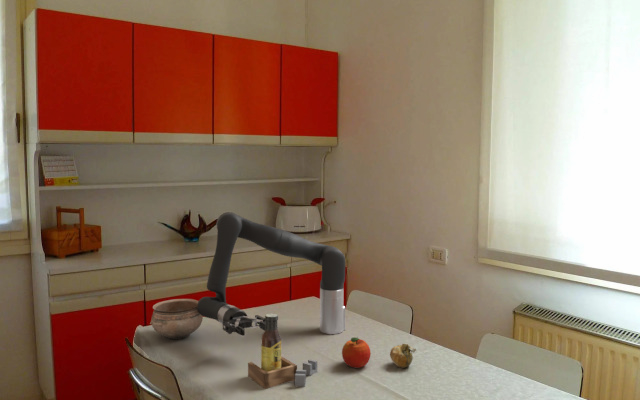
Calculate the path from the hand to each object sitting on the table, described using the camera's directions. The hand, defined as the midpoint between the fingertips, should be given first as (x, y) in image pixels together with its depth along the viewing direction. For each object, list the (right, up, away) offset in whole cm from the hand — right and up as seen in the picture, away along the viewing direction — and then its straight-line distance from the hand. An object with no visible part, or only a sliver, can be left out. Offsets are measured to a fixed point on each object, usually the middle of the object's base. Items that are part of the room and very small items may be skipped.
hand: (255, 330), depth 176 cm
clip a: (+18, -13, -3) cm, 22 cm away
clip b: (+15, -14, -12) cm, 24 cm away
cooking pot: (-33, -10, +29) cm, 45 cm away
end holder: (+6, -13, -7) cm, 16 cm away
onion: (+48, -13, +3) cm, 50 cm away
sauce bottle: (+6, -13, -7) cm, 16 cm away
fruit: (+33, -13, +3) cm, 36 cm away
